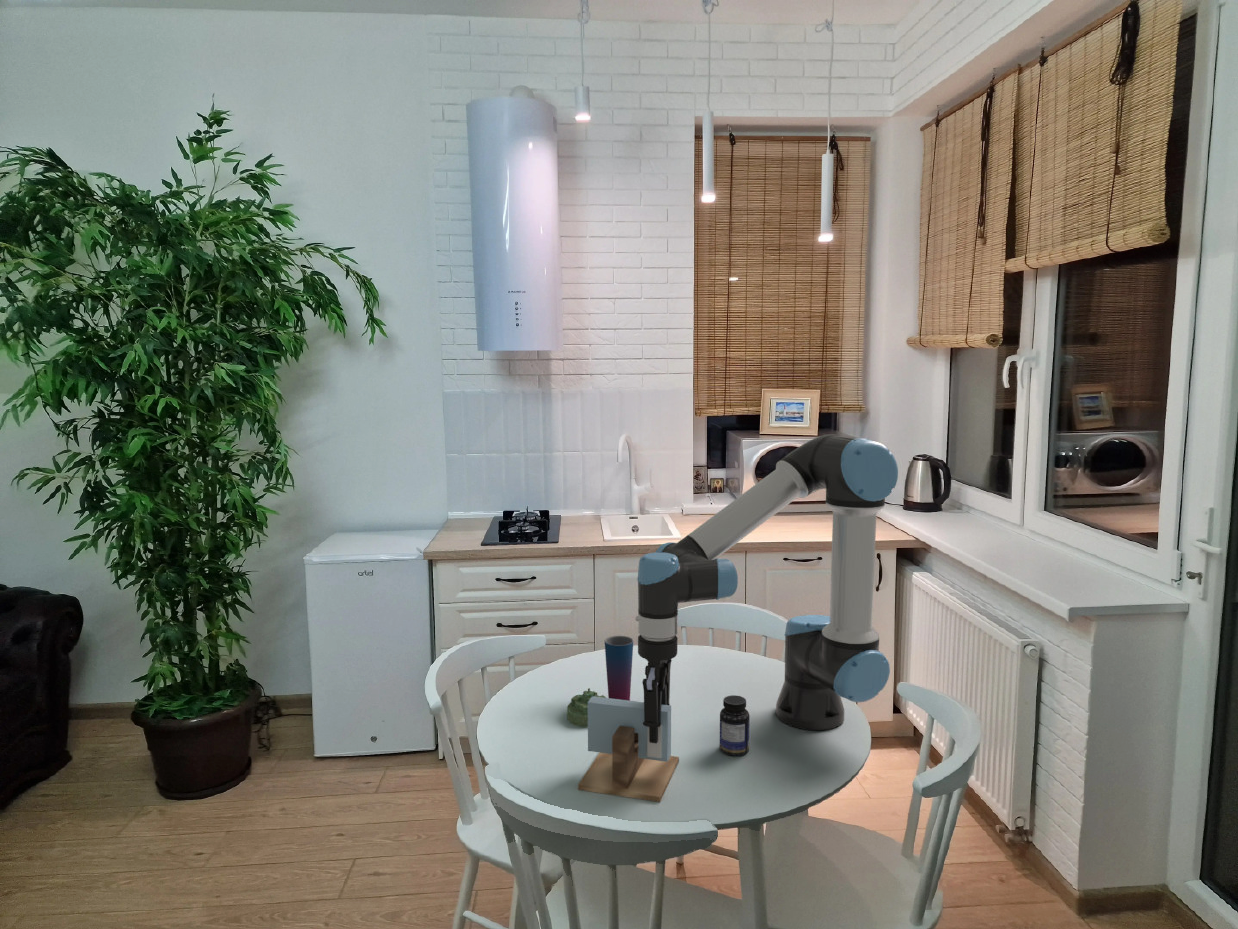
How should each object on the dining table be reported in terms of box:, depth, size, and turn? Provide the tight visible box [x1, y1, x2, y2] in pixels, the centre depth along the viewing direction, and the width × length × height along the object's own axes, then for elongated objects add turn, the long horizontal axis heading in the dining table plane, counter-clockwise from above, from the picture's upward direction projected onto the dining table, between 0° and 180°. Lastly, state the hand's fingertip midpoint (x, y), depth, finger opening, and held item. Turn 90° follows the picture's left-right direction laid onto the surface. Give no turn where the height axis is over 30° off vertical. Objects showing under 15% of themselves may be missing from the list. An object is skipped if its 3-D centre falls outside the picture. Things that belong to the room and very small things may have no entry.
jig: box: [577, 726, 680, 803], centre depth 163 cm, size 16×16×11 cm
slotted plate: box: [587, 696, 672, 762], centre depth 162 cm, size 16×3×10 cm, turn 73°
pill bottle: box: [719, 694, 750, 757], centre depth 173 cm, size 6×6×11 cm
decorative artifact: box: [566, 687, 607, 728], centre depth 189 cm, size 10×7×10 cm
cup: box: [604, 635, 634, 701], centre depth 197 cm, size 7×7×15 cm
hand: (656, 752), depth 161 cm, fingers closed on slotted plate, 3 cm apart
